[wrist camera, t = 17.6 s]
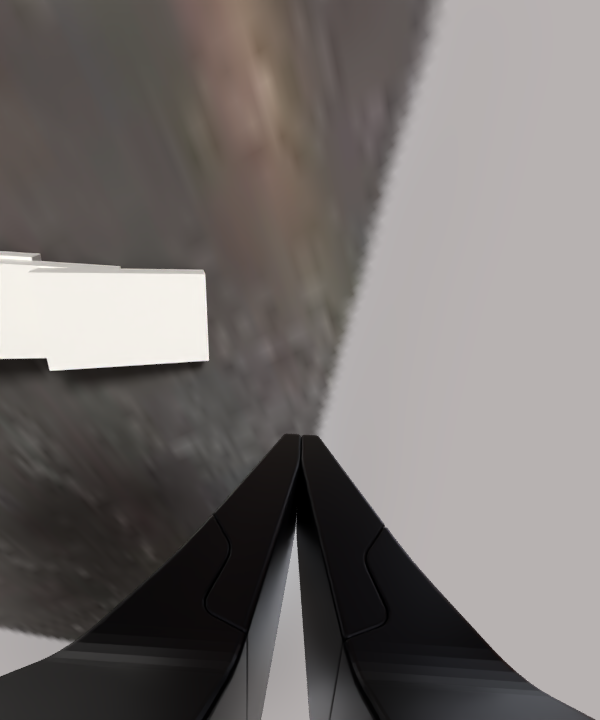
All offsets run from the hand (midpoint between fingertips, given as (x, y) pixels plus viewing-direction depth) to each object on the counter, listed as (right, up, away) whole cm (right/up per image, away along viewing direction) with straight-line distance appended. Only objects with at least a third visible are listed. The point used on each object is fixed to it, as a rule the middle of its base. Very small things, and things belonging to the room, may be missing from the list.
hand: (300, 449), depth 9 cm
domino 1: (-5, +5, +11) cm, 14 cm away
